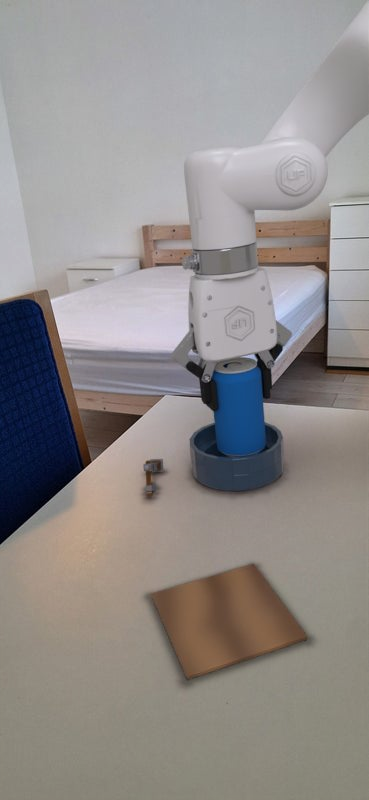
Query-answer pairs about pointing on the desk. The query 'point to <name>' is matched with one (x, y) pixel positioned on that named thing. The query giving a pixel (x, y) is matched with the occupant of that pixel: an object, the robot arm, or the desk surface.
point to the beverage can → (239, 407)
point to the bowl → (235, 461)
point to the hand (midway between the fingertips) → (237, 400)
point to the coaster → (225, 620)
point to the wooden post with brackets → (149, 467)
